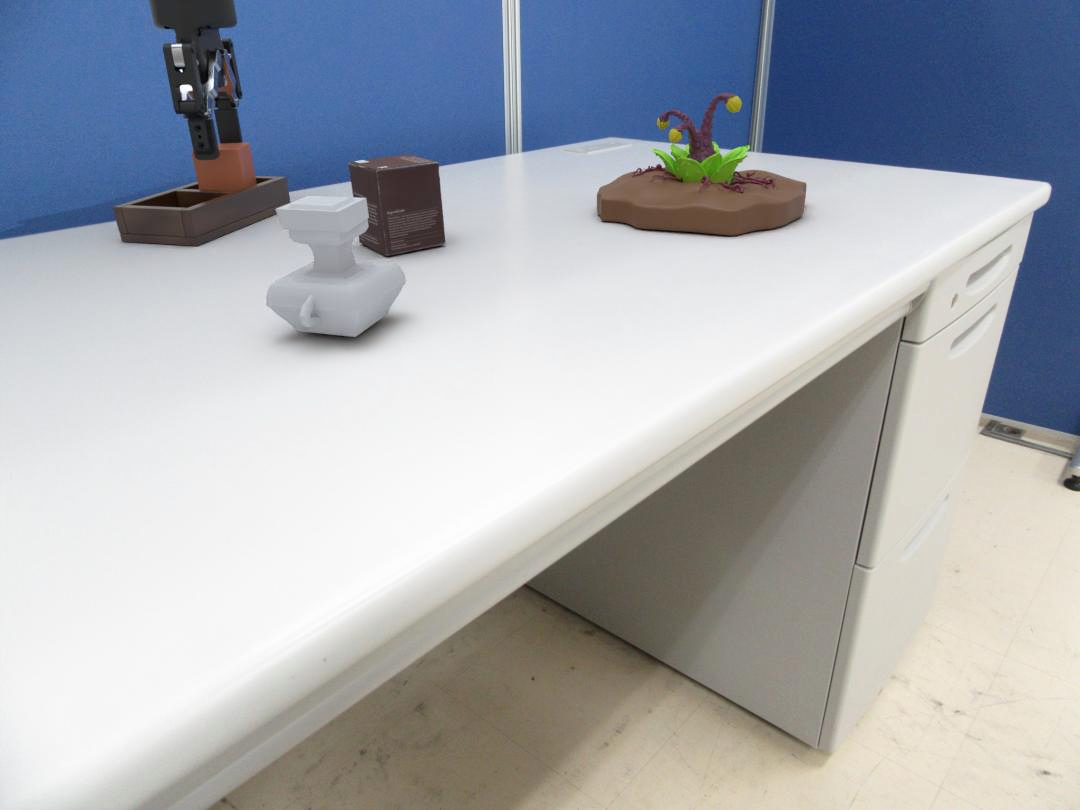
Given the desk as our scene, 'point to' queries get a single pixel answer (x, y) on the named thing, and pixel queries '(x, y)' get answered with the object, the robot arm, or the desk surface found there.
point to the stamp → (332, 270)
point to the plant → (701, 186)
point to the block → (226, 168)
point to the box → (400, 202)
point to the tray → (199, 212)
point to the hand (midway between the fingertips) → (220, 152)
